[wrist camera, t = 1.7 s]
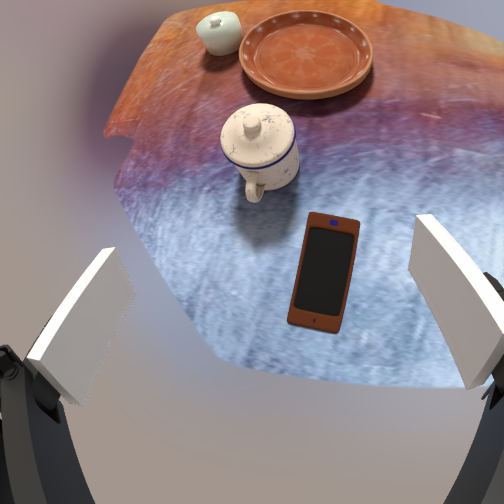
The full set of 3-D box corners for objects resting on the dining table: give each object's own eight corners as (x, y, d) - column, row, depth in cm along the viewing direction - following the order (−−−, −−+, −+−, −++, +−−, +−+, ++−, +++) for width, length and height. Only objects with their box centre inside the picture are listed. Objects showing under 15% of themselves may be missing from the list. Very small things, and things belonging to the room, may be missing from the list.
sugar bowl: (243, 27, 46) (233, 3, 39) (247, 49, 45) (237, 23, 38) (206, 37, 48) (194, 15, 41) (207, 60, 46) (193, 36, 39)
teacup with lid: (246, 134, 42) (221, 90, 31) (305, 139, 40) (297, 91, 29) (229, 208, 41) (196, 179, 30) (293, 217, 39) (281, 188, 28)
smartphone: (361, 220, 36) (339, 334, 35) (360, 221, 37) (338, 332, 36) (308, 210, 38) (285, 322, 37) (309, 212, 39) (286, 322, 38)
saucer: (394, 89, 38) (398, 76, 34) (263, 122, 42) (258, 109, 38) (338, 15, 42) (337, 2, 38) (232, 41, 46) (226, 29, 43)
